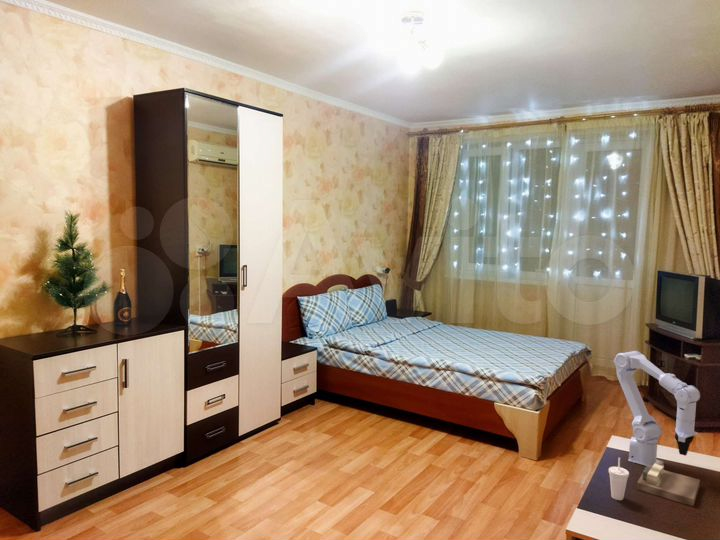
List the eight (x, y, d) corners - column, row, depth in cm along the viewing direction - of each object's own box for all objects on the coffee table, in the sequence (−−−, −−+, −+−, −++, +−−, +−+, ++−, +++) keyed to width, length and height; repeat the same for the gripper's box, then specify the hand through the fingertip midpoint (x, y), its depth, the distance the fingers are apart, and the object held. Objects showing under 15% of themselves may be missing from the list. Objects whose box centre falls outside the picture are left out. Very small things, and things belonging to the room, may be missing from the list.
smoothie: (626, 494, 180) (628, 456, 178) (629, 503, 174) (631, 464, 172) (605, 491, 182) (608, 453, 180) (608, 500, 176) (610, 461, 174)
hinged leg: (655, 468, 193) (656, 459, 192) (664, 471, 191) (665, 461, 190) (646, 482, 183) (647, 471, 182) (656, 485, 181) (656, 474, 181)
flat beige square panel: (636, 489, 183) (637, 474, 183) (646, 471, 196) (647, 457, 196) (693, 506, 172) (694, 490, 172) (699, 486, 185) (700, 471, 185)
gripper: (695, 427, 181) (693, 464, 182) (701, 415, 192) (698, 450, 193) (672, 422, 185) (670, 458, 187) (679, 411, 196) (676, 445, 198)
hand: (683, 454), depth 190 cm, fingers closed
